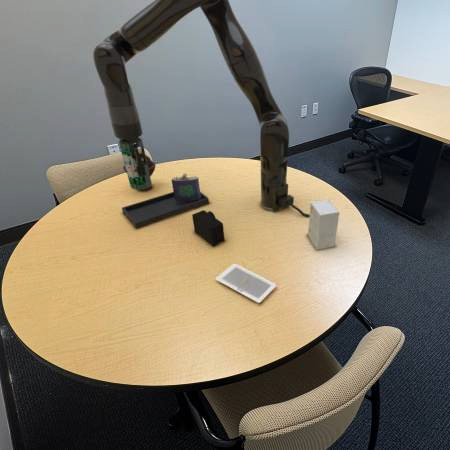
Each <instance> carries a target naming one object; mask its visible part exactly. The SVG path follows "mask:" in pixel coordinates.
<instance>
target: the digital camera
mask: <svg viewBox="0 0 450 450" xmlns="http://www.w3.org/2000/svg"><path fill="white" fill-rule="evenodd" d="M191 217H192V223H193V229H194V230H193V231H194V233H195V234H197V235H198V236H199V237H200V238H202V239H203V240H204V241H206V242H207V243H208V244H209V245H210V246H212V247H215V246H218V245H220V244H222V243H223V242H225V230H224V223H223V222H222V221H221V220H219V219H218V218H217V217H216V215H215V214H214V212H212V211H210V210H209V211H206V210H205V209H202V210H200V211H197V212H194V213H193V214H192V215H191Z"/></svg>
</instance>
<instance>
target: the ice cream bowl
mask: <svg viewBox="0 0 450 450" xmlns="http://www.w3.org/2000/svg"><path fill="white" fill-rule="evenodd" d="M145 156H146V160H147V165H148V169H149V174H150V177H152V175H153V174H154V172H155V169H156V163H155V162H154V161H153V160H151V158H150V157H149V156H148V155H147V154H145ZM122 168H123V170H124V172H125V173H126V174H127V171H126V168H125V165H123V167H122ZM152 185H153V184H152ZM152 185H151V186H150V187H148V188H147V189H146V188H145V189H142V190H141V189H140V190H138V189H137V190H136V191H139V192H148V191H150V190H152V189H153V186H152Z"/></svg>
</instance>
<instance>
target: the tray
mask: <svg viewBox="0 0 450 450" xmlns="http://www.w3.org/2000/svg"><path fill="white" fill-rule="evenodd" d="M200 194H201V200H198V201H193V202H185V203H184V202H183V203H177V202H175V197H174V192H173V191H172V192H167V193H164V194H162V195H158V196H155V197H152V198H148V199H145V200H143V201H142V200H141V201H139V202H135V203H133V204H129V205H126V206H123V207H122V206H121V211H122V214H123V215H124V217H126V218H127V219H128V221H129V222H130V223H131V224H132V225H133V227H134V228H135V229H136V230H138V229H140V228H144V227H147V226H149V225H152V224H155V223H158V222H161V221H163V220H166V219H169V218H171V217H174V216H177V215H180V214H184V213H185V212H189V211H192V210H194V209H197V208H199V207H200V208H201V207H203V206H205V205H208V204H210V199H209V197H208V196H207V195H205V194H204V192H202V191H200Z"/></svg>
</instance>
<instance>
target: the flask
mask: <svg viewBox="0 0 450 450" xmlns="http://www.w3.org/2000/svg"><path fill="white" fill-rule="evenodd" d="M187 175H188V174H187V173H183V174H182V176H181V177H180V176H179V177H178V176H176V177H173V178H171V185H172V192H174V197H175V202H177V203H183V202H184V203H185V202H193V201H198V200H201V194H200V192H201V188H200V182H199V177H198V176H197V175H196V176H187Z"/></svg>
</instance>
